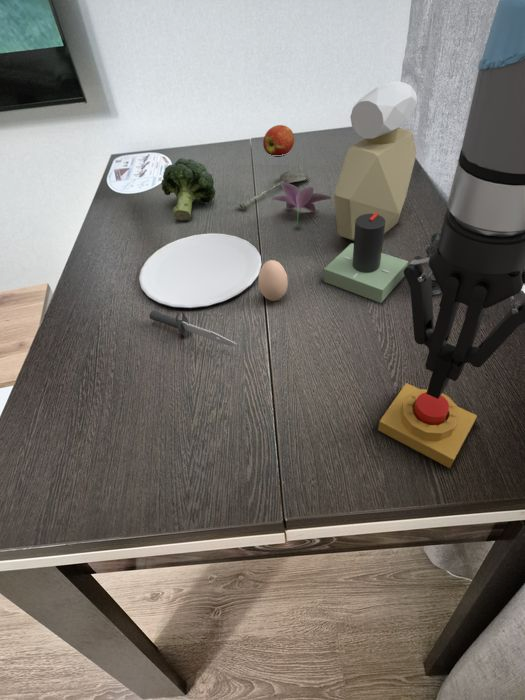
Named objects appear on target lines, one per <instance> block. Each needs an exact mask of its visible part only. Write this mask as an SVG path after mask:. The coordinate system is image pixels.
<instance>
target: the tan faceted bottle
mask: <svg viewBox="0 0 525 700" xmlns="http://www.w3.org/2000/svg"><path fill="white" fill-rule="evenodd" d="M417 97H418V95H417V93H416V91H415V90H414V88H413V87H412V85H410V84H408V83H406V82H403V81H398V80H394V81H391V82H386V83H384V84H381V85H378V86H375V87H374V88H373V89H372V90H370V91H368V93H366V94H365V95H364V96H362V97H361V98H360V99H358V100H357V102H356V104H354V106H353V107H352V110H351V112H350V123H351V128H352V129H353V130H354V131H355V133H356V135H358V136H360V137H361V138H363V139H362V140H360V141H359V142H357V143H356V144H353V145H352V146H351V147H349V148H348V149H347V152H346V155H345V158H344V161H343V165H342V168H341V171H340V174H339V178H338V181H337V184H336V186H335V190H334V193H333V198H334V208H335V220H336V230H337V231H336V232H337V235H338V236H339V237H343V238H345V239H347V240H350V241H353V242H354V235H355V221H356V219H357V218H358V217H359V216H361V215H364V214H375V213H379V215H380V216H382V217H383V218H384V219H385V230H384V234H386V233H387V232H388V231H390V230H391V229H392V228H393V227H394V226H397V224H398V223H399V219H400V216H401V213H402V210H403V208H404V205H405V201H406V199H407V195H408V191H409V186H410V182H411V178H412V174H413V170H414V167H415V162H416V157H417V149H416V145H415V139H414V135H413V132H412V130H411V129H407V128H401V127H402V126H403V125H405V124H406V123H407V122H408V121H409V120H410V119H411V117H412V116H413V115H414V113H415V110H416V108H417V106H418V98H417Z"/></svg>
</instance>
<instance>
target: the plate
mask: <svg viewBox="0 0 525 700" xmlns="http://www.w3.org/2000/svg"><path fill="white" fill-rule="evenodd" d="M262 266H263V265H262V256H261V254H260V252H259V250H258V249H257V247H256V246H254V245H253V244H252V243H251V242H249V241H248V240H246V239H243V238H241V237H238V236H236V235H231V234H227V233H202V234H200V233H199V234H194V235H190V236H186V237H182V238H179V239H176V240H174V241H172V242H169V243H167V244H165V245H164V246H162V247H160V248H159V249H158V250H156V251H154V252H153V253H152V255H150V256H149V257H148V258H147V259H146V260H145V262H144V264H143V265H142V267H141V268H140V272H139V277H138V280H139V285H140V289H141V290H142V291H143V292H144V294H145V295H146V296H147V297H148V298H150V299H151V300H152V301H154V302H156V303H158V304H160V305H164V306H168V307H171V308H177V309H179V308H181V309H196V308H204V307H205V308H206V307H210V306H214V305H217V304H221V303H224V302H227V301H229V300H230V299H233V298H234V297H237V296H239V295H241V294H242V293H243V292H244V291H246V290H248V289H249V287H251V286H253V284H254V282H255V281H256V280H257V278H259V273H260V270H261V268H262Z"/></svg>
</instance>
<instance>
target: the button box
mask: <svg viewBox="0 0 525 700" xmlns="http://www.w3.org/2000/svg"><path fill="white" fill-rule="evenodd" d="M427 390H428V389H425V388H424V389H423V388H422V389H421V388H419V387H417V386H414V385H412V384H409V383H407V382H406V383H405V384H404V385H403V386H402V388H401V389H400V391H399V393H398V394H397V395H396V396H395V398H394V400H393V401H392V402H391V404H390V406H389V407H388V408H387V409H386V411H385V413H383V415H382V416H381V418H380V420H379V422H378V428H377V430H378V431H379V432H381V433H382V434H384V435H386V436H388V437H390V438H392V439H393V440H396V441H398V442H399V443H401V444H403V445H405V446H407V447H409V448H410V449H412V450H414V451H416V452H418V453H420V454H422V455H424V456H426V457H427V458H430V459H431V460H433V461H435V462H437V463H438V464H441V465H443V466H444V467H447V468H448V469H451V467H452V466H453V463H454V462H455V460H456V457H458V454H459V453H460V450H461V448H462V447H463V445H464V443H465V441H466V438H467V437H468V436H469V433H470V431H471V429H472V428H473V426H474V424H475V422H476V419H477V418H478V415H477V414H476V413H473V412H471V411H468V410H466V409H464V408H461V407H459V406H458V405H457V404H456V403H455V402H454V400H452V398H451V397H450V396H449V395H446V394H444V393H442V394H441V395H442V396H443V397H444V398H445V399H446V400H447V401H448V403H449V411H448V413H447V416H446V419H445V420H444V421H443V422H442V423H440V424H437V425H429V424H426V423H423V422H422V421H420V420H419V419H418V418H417V417H416V415H415V413H414V407H415V404H416V400H417V398H418V396H419V395H421V394H422V393H425V392H427Z"/></svg>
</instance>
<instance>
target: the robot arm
mask: <svg viewBox="0 0 525 700" xmlns="http://www.w3.org/2000/svg"><path fill="white" fill-rule="evenodd" d="M486 40H487V41H486V44H485V47H484V50H483V54H482V57H481V59H480V60H479V62H478V66H477V69H478V72H477V76H476V81H475V86H474V90H473V94H472V99H471V104H470V108H469V112H468V113H469V114H468V118H467V122H466V126H465V132H464V136H463V140H462V145H461V149H460V151H459V157H458V160H457V164H456V168H455V171H454V175H453V176H454V177H453V180H452V184H451V187H450V188H451V189H450V192H449V196H448V199H447V208H448V209H447V210H446V211H445V213H444V218H443V221H442V226H441V228H442V230H440V231H441V234H440V238H439V242H438V247H437V249H436V250H435V252H434V253H433V254H432V255H431V256H430V257H429V258H427V257H425V258H424V257H423V256H421V255H416V256H414V258H412V260H411V261H410V262H408V266H407V267H406V268H405V269H404V275H405V276H404V277H405V280H406V281H407V284H408V286H409V290H410V300H411V301H410V302H411V314H412V326H413V327H412V328H413V339H414V342H415V343H416V344H418V345H421V346H422V345H423V346H426V347H427V349H428V354H427V358H426V361H425V364H424V366H425V369H426V370H427V371H429V372H431V377H430V380H429V383H428V387H427V389H426V390H427V393H426V394H428V395H430V396H433V397H435V398H437V399H439V397H440V395H441V394H443V392H444V391H445V389H446V387H447V386H448V383H449V381H450V380H451V381H452V382H456V381H457V380H458V379H459V378H460V376H461V374H462V373H463V370H464V368H465V365H466V364H470V365H471V366H472V367H474V368H481V367H482V366H483V365H484V364H485V363H486V362H487V361H488V360H489V359H490V357H492V356H493V354H494V353H495V352H496V351H497V350H498V349H499V348H500V347H501V345H503V344H504V342H506V340H507V339H508V338H509V337H510V336H511V335H512V334H513V333H514V332H515V331H516V329H517V328H518V327H520V326H521V325H524V324H525V0H498V2H497V6H496V10H495V13H494V16H493V20H492V22H491V27H490V30H489V34H488V37H487V39H486ZM432 273H433V275H434V277H435V279H436V281H437V283H438V285H439V287H440V290H441V291H442V292H441V294H442V295H441V299H440V302H439V310H438V314H437V318H436V321H435V323H434V305H433V304H434V303H433V302H434V301H433V295H432V280H431V275H432ZM512 297H513V299H512V301H511V303H510V305H509V308H510V309H509V311H508V312H507V313H506V314H505V315H504V316H503V318H502V319H501V320H500V321H499V322H498V323H497V324H496V326H494V328H493V329H492V330H491V331H490V333H488V335H487V336H486V337H485V339H483V341H482V342H480V344H479V345H478V346H474V343H475V340H476V338H477V335H478V332H479V329H480V327H481V324H482V321H483V319H484V316H485V314H486V310H487V309H488V308H490V307H491V308H492V307H493V306H495V305H498V304H499V303H501V302H503V301H506V300H507V299H510V298H512ZM460 304H464V305H465V306H466V307H467V308H466V311H465V314H464V320H463V322H462V323H463V324H462V327H461V329H460V332H459V335H458V338H457V342H456V344H455V345H454V344H451V343H448V341H449V339H450V338H451V332H452V328H453V325H454V322H455V319H456V316H457V313H458V309H459V306H460ZM434 324H435V325H434Z"/></svg>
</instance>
